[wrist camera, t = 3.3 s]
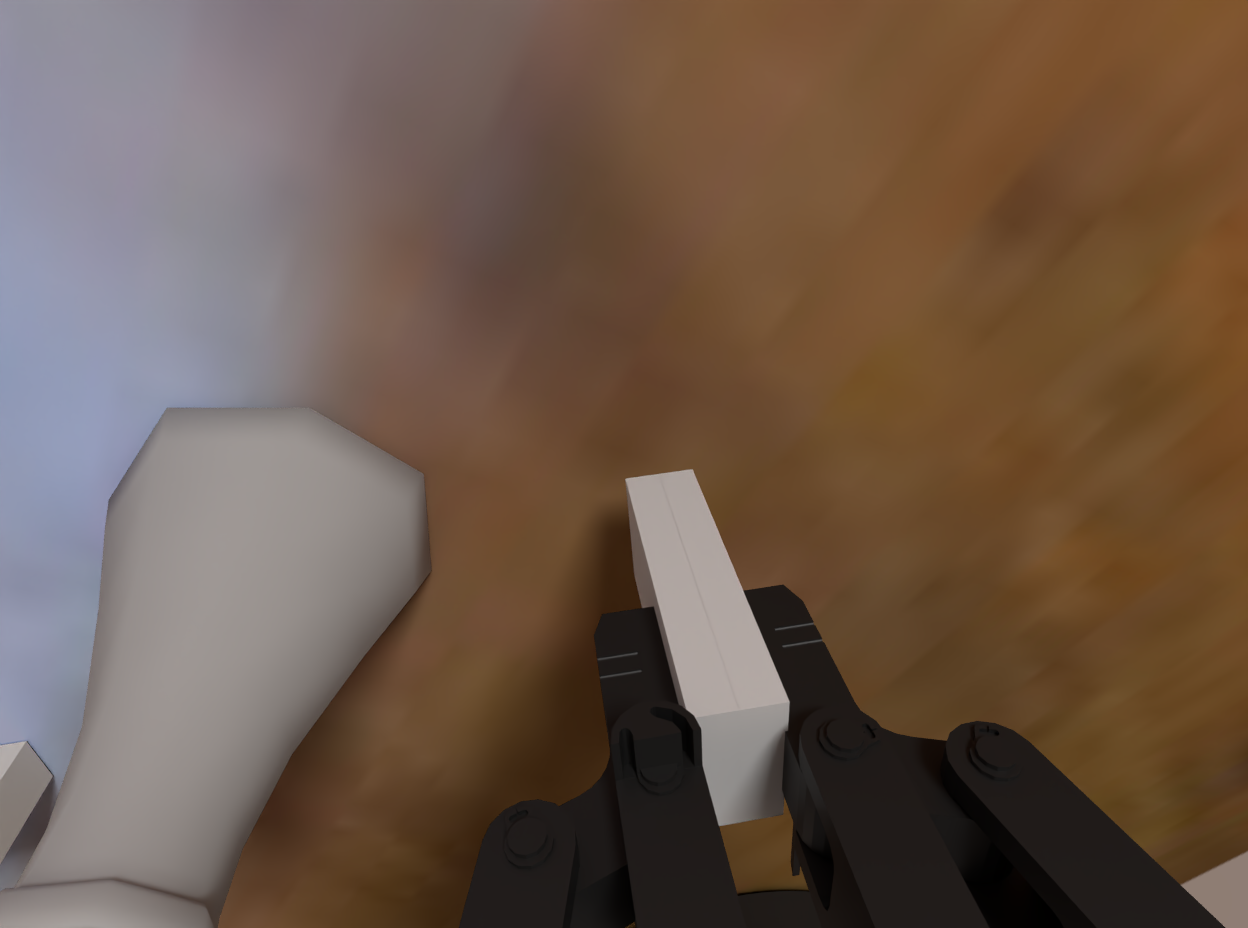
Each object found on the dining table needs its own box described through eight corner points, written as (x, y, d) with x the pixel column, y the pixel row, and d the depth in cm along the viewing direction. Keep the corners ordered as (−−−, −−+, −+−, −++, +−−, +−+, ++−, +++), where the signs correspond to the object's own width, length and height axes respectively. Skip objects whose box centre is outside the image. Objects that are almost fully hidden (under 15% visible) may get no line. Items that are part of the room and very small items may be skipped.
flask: (473, 446, 17) (442, 853, 9) (398, 662, 20) (320, 1118, 12) (128, 351, 15) (-354, 771, 7) (102, 610, 18) (-248, 1122, 10)
